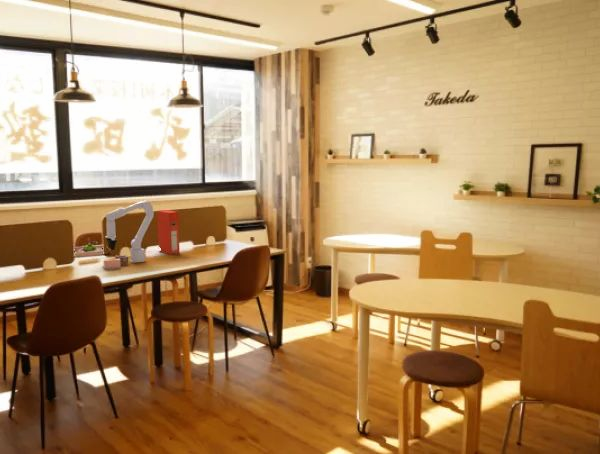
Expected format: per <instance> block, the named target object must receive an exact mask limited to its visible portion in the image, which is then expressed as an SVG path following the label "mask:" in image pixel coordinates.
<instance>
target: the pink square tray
mask: <svg viewBox="0 0 600 454" xmlns="http://www.w3.org/2000/svg"><path fill="white" fill-rule="evenodd" d="M96 245H97V247H98V248H102V247H103V245H104V244H100V245H98V244H96ZM84 246H86V245H84ZM84 246H83V245H82V246H73V247H74V249H75V257H74V258H79V257H91V256H92V257H93V256H103V255H102V254H103V251H91V252H78V253H77V250H78V249H85V247H84ZM86 247H87V246H86Z"/></svg>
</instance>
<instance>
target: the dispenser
mask: <svg viewBox="0 0 600 454" xmlns="http://www.w3.org/2000/svg"><path fill="white" fill-rule="evenodd" d="M115 259H120V266H121V265H122V266H129V256H128V255H127V254H126V255H118V254H115Z"/></svg>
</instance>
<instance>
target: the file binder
mask: <svg viewBox="0 0 600 454" xmlns="http://www.w3.org/2000/svg"><path fill="white" fill-rule="evenodd" d="M179 220H180V219H179V212H178V211H174V210H169V209H163V210H157V234H158V248H159V247H160V248H161V251H162V252H163V254H167V255H170V256H173V255H177V254H180V225H179V224H180V223H179V222H180V221H179ZM162 252H161V253H162Z"/></svg>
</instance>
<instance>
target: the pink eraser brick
mask: <svg viewBox="0 0 600 454" xmlns="http://www.w3.org/2000/svg"><path fill="white" fill-rule="evenodd" d="M103 266H104V268H114V267H121V266H120V259H116V258H110V259H103ZM104 268H103V269H104ZM121 268H122V267H121Z"/></svg>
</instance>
